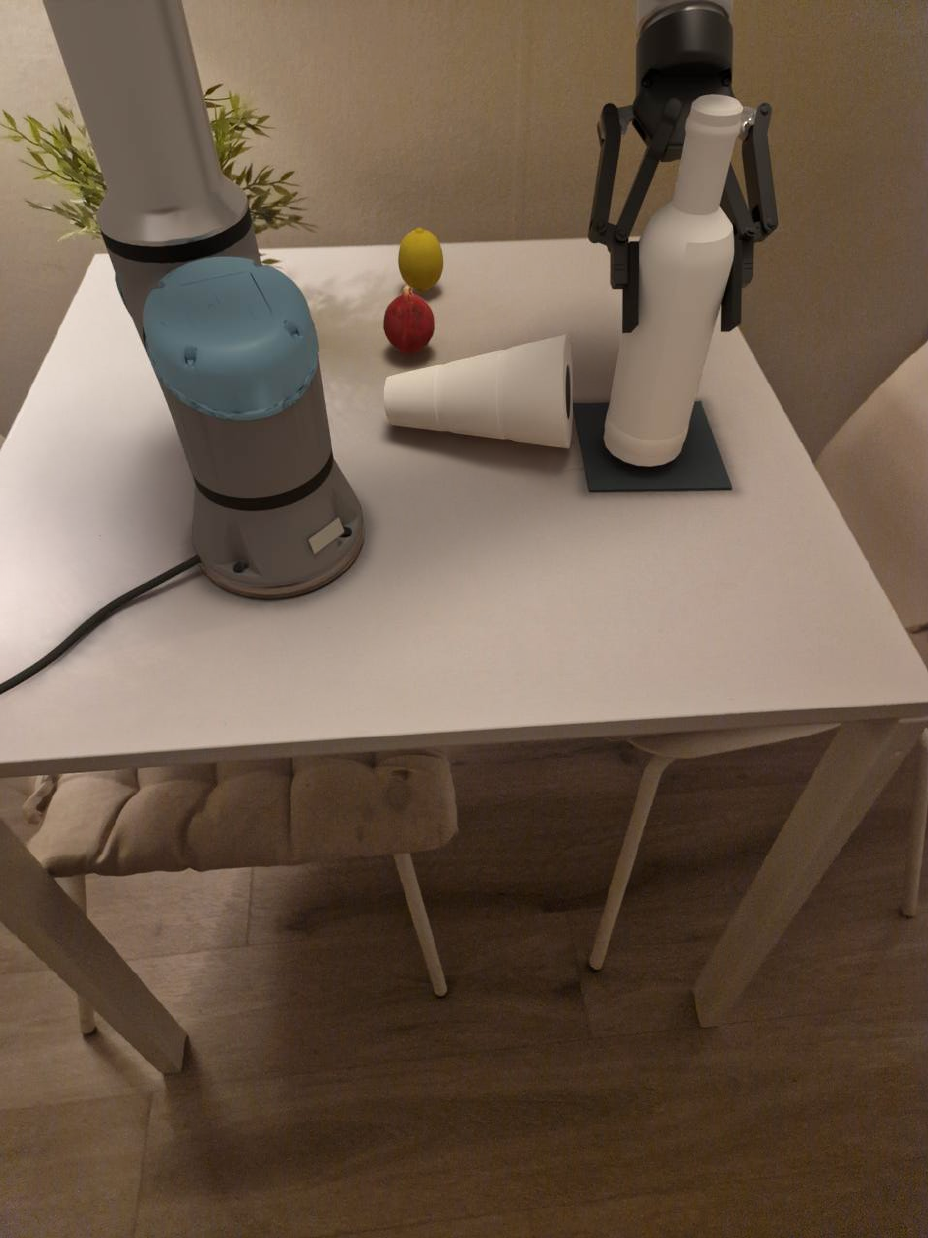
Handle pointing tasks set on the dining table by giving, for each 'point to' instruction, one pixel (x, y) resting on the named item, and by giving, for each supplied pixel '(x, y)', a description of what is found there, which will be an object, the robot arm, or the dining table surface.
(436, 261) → the lemon
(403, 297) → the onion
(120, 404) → the dining table surface
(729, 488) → the mat
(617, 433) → the bottle
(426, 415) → the cup
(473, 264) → the dining table surface
